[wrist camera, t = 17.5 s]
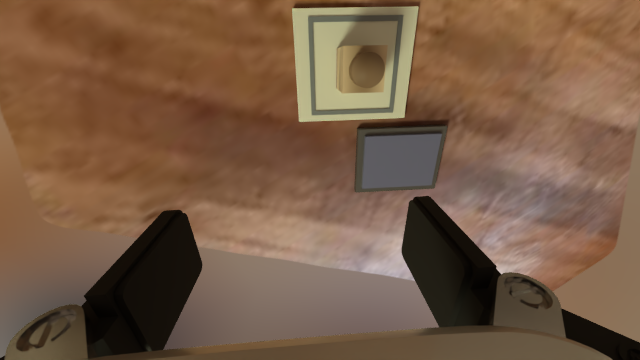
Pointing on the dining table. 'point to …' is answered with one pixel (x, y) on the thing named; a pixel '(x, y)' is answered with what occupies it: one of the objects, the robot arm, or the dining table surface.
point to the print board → (351, 30)
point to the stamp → (361, 68)
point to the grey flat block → (398, 157)
